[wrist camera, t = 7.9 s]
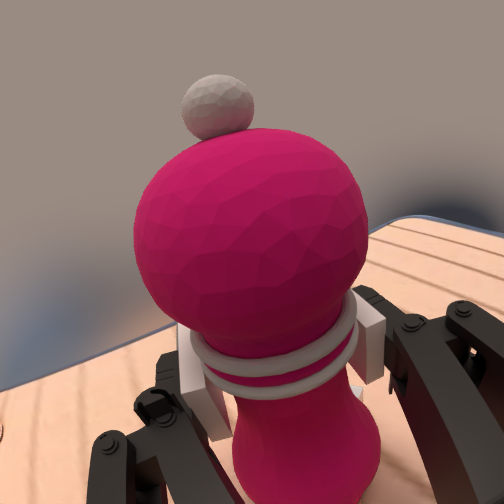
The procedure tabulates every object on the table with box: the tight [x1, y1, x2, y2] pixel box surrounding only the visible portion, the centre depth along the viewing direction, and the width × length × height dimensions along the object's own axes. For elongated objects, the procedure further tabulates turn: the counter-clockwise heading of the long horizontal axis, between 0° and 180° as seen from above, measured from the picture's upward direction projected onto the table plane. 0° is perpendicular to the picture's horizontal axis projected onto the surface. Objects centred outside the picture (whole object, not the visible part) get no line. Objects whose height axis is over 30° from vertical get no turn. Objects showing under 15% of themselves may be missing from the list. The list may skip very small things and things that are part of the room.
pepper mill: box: [134, 75, 381, 504], centre depth 10 cm, size 7×7×20 cm
